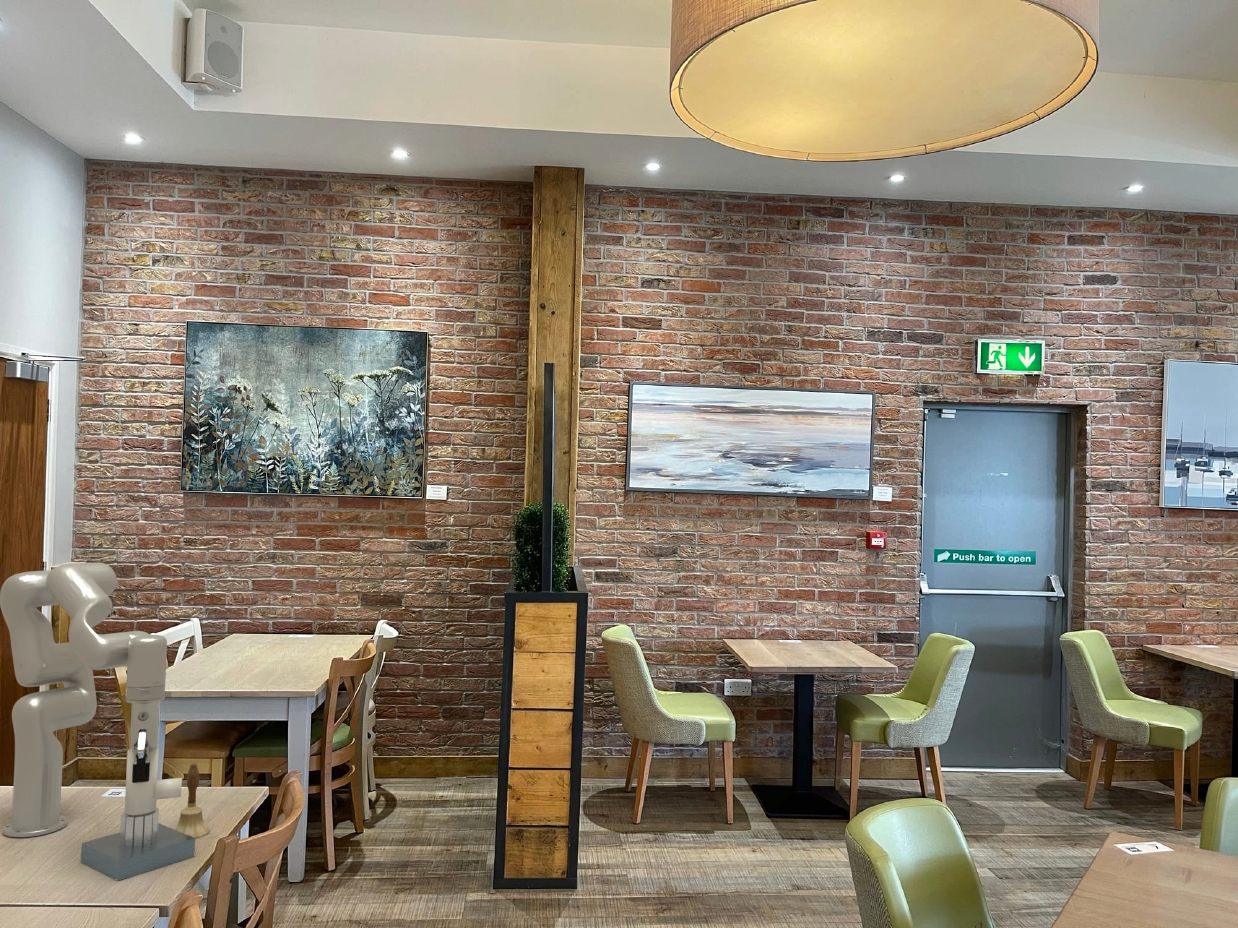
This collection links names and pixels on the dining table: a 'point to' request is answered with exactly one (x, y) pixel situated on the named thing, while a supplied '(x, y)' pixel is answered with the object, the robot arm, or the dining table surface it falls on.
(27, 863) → the dining table surface
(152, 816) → the vent box
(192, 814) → the hand bell
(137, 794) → the white tall branched piece
